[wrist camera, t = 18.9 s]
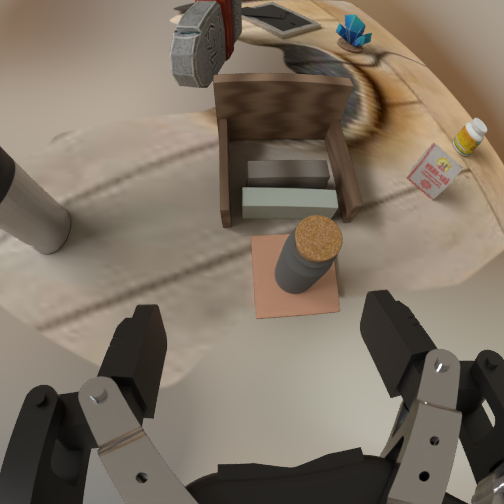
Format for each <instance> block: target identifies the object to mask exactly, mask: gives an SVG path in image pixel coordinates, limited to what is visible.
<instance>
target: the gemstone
mask: <svg viewBox="0 0 504 504" xmlns="http://www.w3.org/2000/svg"><path fill="white" fill-rule="evenodd" d="M345 26H346V29H345V28H344V27H343V26H342V25H341V24H340V23H339V25H338V28H337V30H336V32H337V33H338V34H339V35H340V36H341V37H342V38H340V39H338V42H337V43H338V45H339V46H340V47H341V48H342V49H344V50H346V51H349V52H353V53H359V52H361V51H362V46H363V45H364V44H365V43H369V42H370V41H371V35H372V33H369V34H365V35H362V34H363V32H364V29H365V24H364V23H363V22H362V21H361V20H360V19H359V18H358V17H357V16H356V15H345Z"/></svg>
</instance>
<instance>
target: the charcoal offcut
mask: <svg viewBox="0 0 504 504" xmlns="http://www.w3.org/2000/svg"><path fill="white" fill-rule="evenodd" d="M329 178H330V174H329V170H328V165H327V161H325V160H266V161H248V163H247V187H249V188H298V189H323V190H324V189H325V187H326V184H327V182H328V180H329Z"/></svg>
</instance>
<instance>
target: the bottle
mask: <svg viewBox="0 0 504 504" xmlns="http://www.w3.org/2000/svg"><path fill="white" fill-rule="evenodd" d="M341 246H342V234H341V231H340V229H339V227H338V226H337V224H336V223H335V222H334V221H332V220H331V219H329V218H328V217H325V216H322V215H312V216H308V217H306V218H304V219H303V220H302V221H301V222H300V223H299V224H298V226H297V227H296V228H295V230H294V231H293V232H292V233H291V234H290V235H289V236H288V238H287V239H286V241H285V244H284V246H283V248H282V251H281V254H280V256H279V259H278V262H277V264H276V267H275V280H276V282H277V284H278V286H279V287H280V288H281V289H282V290H284V291H285V292H287V293H291V294H300V293H303V292H305V291H306V290H308V289H309V288H310V287H311V286H312V285H314V284H315V283H316V282H317V281H318V280H319V279H320V278H321V277H322V276H323V275H324V274H325V273H326V272H327V271H328V270H329V269H330V267H331V266H332V264H333V261H334V259H335V258H336V256H337V254H338V252H339V251H340V249H341Z"/></svg>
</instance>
